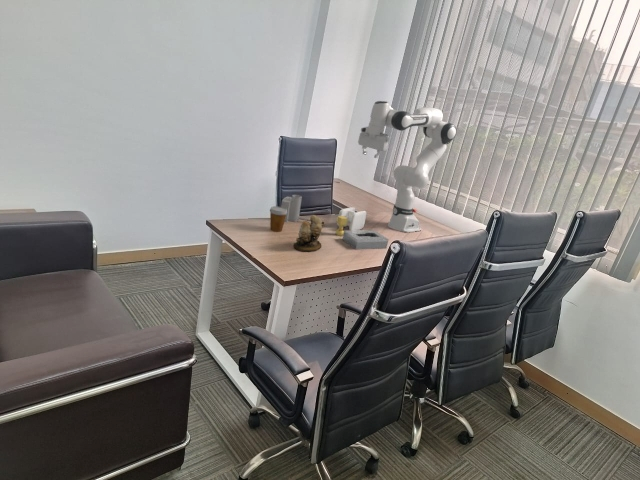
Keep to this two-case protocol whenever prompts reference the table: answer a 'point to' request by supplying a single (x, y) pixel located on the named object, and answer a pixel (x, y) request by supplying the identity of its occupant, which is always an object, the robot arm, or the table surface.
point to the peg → (341, 225)
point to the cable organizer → (353, 218)
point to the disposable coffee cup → (277, 218)
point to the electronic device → (293, 208)
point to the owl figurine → (309, 235)
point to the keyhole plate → (365, 239)
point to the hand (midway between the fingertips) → (370, 156)
